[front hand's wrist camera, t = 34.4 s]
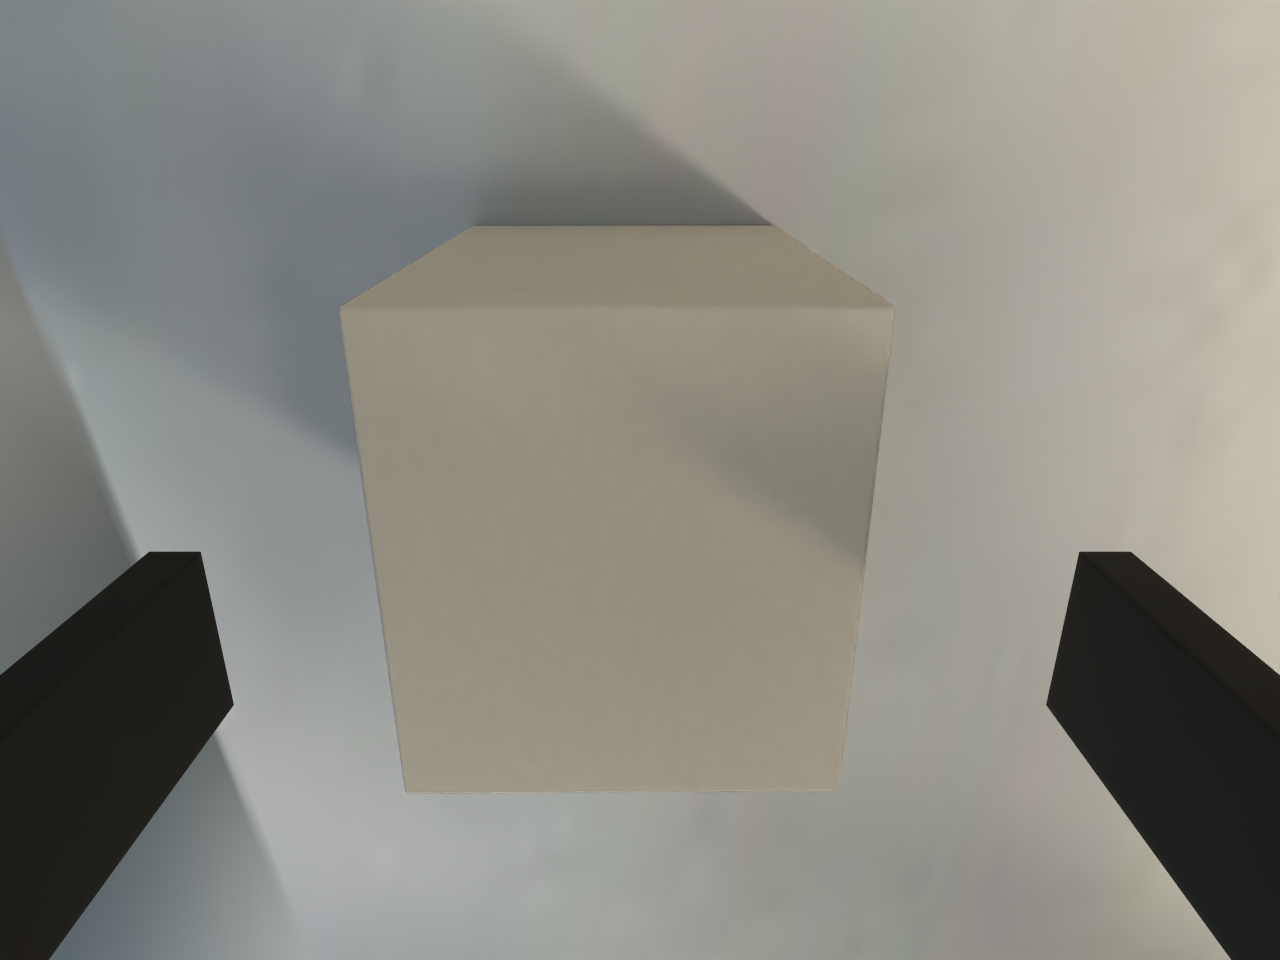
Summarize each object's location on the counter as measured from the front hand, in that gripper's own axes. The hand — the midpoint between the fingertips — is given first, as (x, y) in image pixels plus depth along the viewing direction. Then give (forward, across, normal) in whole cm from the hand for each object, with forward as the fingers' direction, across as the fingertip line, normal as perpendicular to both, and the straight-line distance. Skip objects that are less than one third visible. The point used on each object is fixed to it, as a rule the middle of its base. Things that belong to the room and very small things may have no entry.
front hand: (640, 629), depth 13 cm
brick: (+12, 0, 0) cm, 12 cm away
